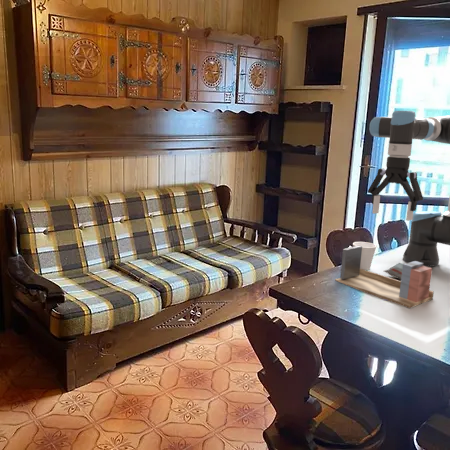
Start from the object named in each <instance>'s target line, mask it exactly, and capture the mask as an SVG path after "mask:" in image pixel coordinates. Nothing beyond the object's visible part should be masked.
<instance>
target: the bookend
mask: <svg viewBox="0 0 450 450" xmlns="http://www.w3.org/2000/svg"><path fill="white" fill-rule="evenodd" d="M361 254H362V246H355V247H353V246H351V247H346V248H342V256H341V266H340V277H339V278H340V279H343V280H344V279H348V278H352V277H355V276H359V273H360V263H361Z"/></svg>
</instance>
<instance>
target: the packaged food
mask: <svg viewBox="0 0 450 450" xmlns="http://www.w3.org/2000/svg"><path fill="white" fill-rule="evenodd" d="M403 264H404V263H401V262H399V263H396V264H394V265H393V266H391V267H390V268H388V269H385V270H383V272H384V273H387V274H388V276H391V277H393V278H396V279H397V280H399V281H401V277H402V269H403Z"/></svg>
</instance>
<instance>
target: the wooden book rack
mask: <svg viewBox="0 0 450 450" xmlns="http://www.w3.org/2000/svg"><path fill="white" fill-rule="evenodd" d="M402 264H403V269H402V277H401V280H399V279H395V278H392V277H388V276H385V275H383V274H380V273H379V274H378V273H376V272H373V271H370V270H364V269H360V273H359V276H355V277H352V278H348V279H344V280H343V279H340V277H339V278H335V281H336V282H339V283H341V284H342V285H346V286H348V287H350V288H353V289H356V290H357V291H360V292H363V293H365V294H369V295H372V296H374V297H378V298H380V299H383V300H385V301H389V302H391V303H395V304H396V305H400V306H403V307H406V308H408V309H411V308H414V307H416V306H419V305H422V304H424V303H426V302H430V301H432V300H433V299H434V291H433V290H430V288H431V282H432V281H431V280H432V273H433V267H430V266H423V264H424V263H421V262H418V261H413V262H409V263H407V262H405V263H402Z"/></svg>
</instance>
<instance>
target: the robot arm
mask: <svg viewBox="0 0 450 450" xmlns="http://www.w3.org/2000/svg"><path fill="white" fill-rule="evenodd" d="M369 133H370V135H371V136H372V137H375V138H386V139H387V138H389V140H388V148H387V155H388V156H387V158H386V163H385V164H386V165H385V166H386V169H385V168H378V170H377V173H376V175H375V177H374V180H373V181H372V183H371V185H370V186H369V188H368V190H367V193H369V194H371V195H372V197H371V204H372V212H371V213H372V214H373V215H374V214H380V213H379V211H380V203H381V202H380V201H381V195H380V194H381V192H382V191H383V190H384V189H386V187H387V186H388V185H389V184H396V185H400V186H401V187H402V188H403V190H404V191H405V193H406V194H407V195H406V196H408V198H409V200H410V201H408V204H407V210H406V211H407V212H406V220H405V221H410V223H411V225H410V233H409V240H408V241H409V242H408V244H407V246H406V248H405V250H404V253H403V255H402V260H403V261H404V262H405V263H409V262H413V261H418V262H421V263H424V264H423V266H426V267H436V266H439V264H440V256H439V250H438V243H439V244H441V245H446V246H450V196H449V199H448V205H447V210H446V211H445V212H443V214H442V212H441V211H433V210H423V211H416V210H417V204H418V202H420V201H423V200H424V196H423V194H422V191H421V188H420V184H419V182H418V172H416V171H413V172H409V169H410V162H411V157H410V156H411V154H412V145H413V140H421V141H422V140H425V141H429V142H430V141H431V142H437V143H441V144H446V145H447V144H449V145H450V115H442V116H429V117H416V112H415V111H413V110H394V111H393V112H392V114H391V116H375V117H373V118H372V119H371V121H370V123H369ZM384 176H385V178H384ZM407 178H409V181H408V179H407ZM382 179H383V181H382ZM381 181H382V182H381ZM380 182H381V183H380ZM409 182H410V183H409ZM410 184H411V185H410Z"/></svg>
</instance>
